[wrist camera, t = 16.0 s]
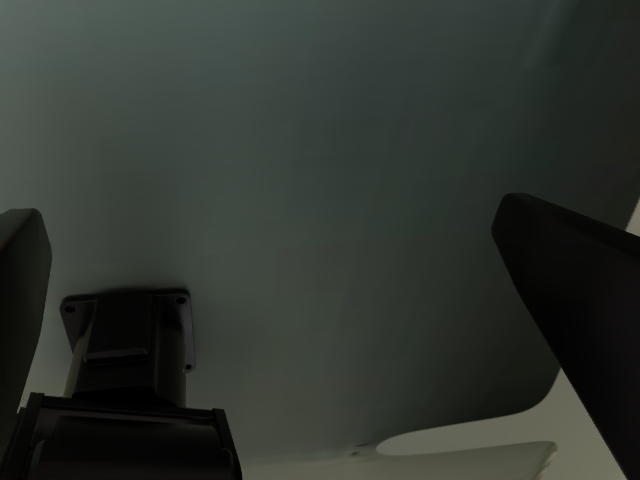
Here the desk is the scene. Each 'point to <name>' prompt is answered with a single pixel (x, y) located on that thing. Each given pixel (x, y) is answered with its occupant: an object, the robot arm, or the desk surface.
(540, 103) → the desk surface
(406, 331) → the desk surface
